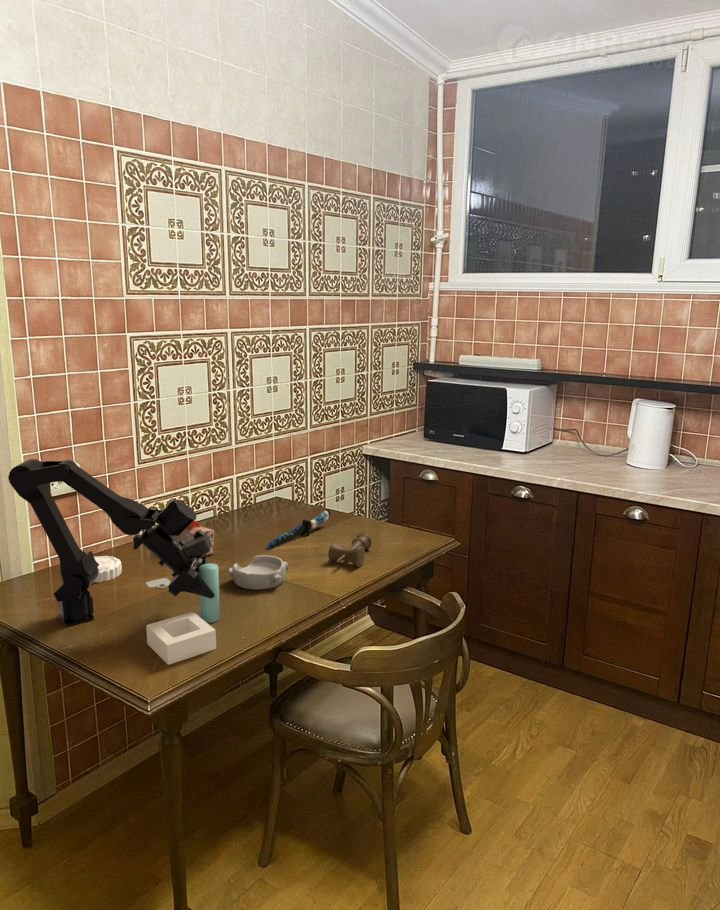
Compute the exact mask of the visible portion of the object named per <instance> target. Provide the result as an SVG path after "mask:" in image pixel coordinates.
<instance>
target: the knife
mask: <svg viewBox="0 0 720 910" xmlns="http://www.w3.org/2000/svg"><path fill="white" fill-rule="evenodd" d="M330 515H331V511H330V509H325V510H324V511H322V512H321V513H320V514H319V515H317V516H316V517H314V518H313V519H311V520H308V519H303V520H302V522H300V523H299V524H298V525H297V526H296V527H294V528H292V529H291V530H289V531H288V532H286V533H283V534H281V535H278V536H277V537H275V538H273V539H272V540H271V541H270V542H269V543H268V544H267V545H266V547H265V550H272V549H274V548H273V547H275V546H277V547H279V546H281V545H280V544H282V545H284V544H286V543H288V542H289V541H291V540H293V539H295V538H297V537H298V536H300V535H301V534H302V533H303V534H302V535H305V534H306V535H305V536H310V534H311V530H313V529H314V528H315V527H316V528H317V526H319V525H320V524H322V523H325V522H326V521H327V520H328V519H329V517H330ZM283 543H284V544H283ZM278 545H279V546H278ZM271 548H272V549H271ZM275 548H276V547H275Z"/></svg>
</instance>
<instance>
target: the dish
mask: <svg viewBox="0 0 720 910" xmlns="http://www.w3.org/2000/svg"><path fill="white" fill-rule="evenodd" d="M288 570H289V565H288V562H287V561H283V560H282V558H280V557H278V556H275V555H266V554H264V555H263V554H262V555H255V556H254V557H253V558H252V559H251V562H250V563H249V564H248V565H247V566H245V567H242V566H240V565H239V564H238V563H237V562H236V563H234V564H233V566H232V567H230V568H229V569H228V576H229V577H230V578H233V581H234V584H235V585H237V586H238V587H239V588H243V589H247V590H267V589H273V588H276V587H279V586H280V585H281V584H282V583H283V582H284V581H285V579H286V574H287V572H286V571H288Z"/></svg>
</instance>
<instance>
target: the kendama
mask: <svg viewBox="0 0 720 910" xmlns="http://www.w3.org/2000/svg"><path fill="white" fill-rule="evenodd" d="M372 541H373V540H372V538H371V536H370V535H368V534H367V533H359V534H358V535H356V538H354V539H352V542H351V546H350V548H344V547H341V546H340V545H339V544H338V543H335V542H334V543H332V544H330V546H329V548H328V555H327V556H328V561H329V562H330V563H335V562H336V563H339V562H341V561H345V562H346V561H348V562H350V563H352V564H353V565H354V566H355V567H357V568H360V567H361V566H363V564H364V561H365V553H366V552H365V550H366V549H367V550H369V549H370V548H371V547H372V544H373V543H372Z"/></svg>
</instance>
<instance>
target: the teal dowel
mask: <svg viewBox="0 0 720 910" xmlns="http://www.w3.org/2000/svg"><path fill="white" fill-rule="evenodd" d="M199 570H201V579H202V580H203V581H204V582H205V583H206V585H207V586H208V587H209V588H210V589H211V590H212V592H213V593H214V594H215V596H214V597H213V598H212V599H211V598H208V597H204V596H201V595H199V603H200V605H199V607H200V608H199V609H200V610H199V611H200V618H201V619H203V620H204V621H205V622H206V623H208V624H211V623H212V624H213V623H215V622H218V621H219V620H221V619H220V618H221V617H220V614H221V613H220V612H221V611H220V581H219V577H220V575H219V565H218V564H216V563H212V562H211V563H207V564H203V565H201V566H200V567H199Z"/></svg>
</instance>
